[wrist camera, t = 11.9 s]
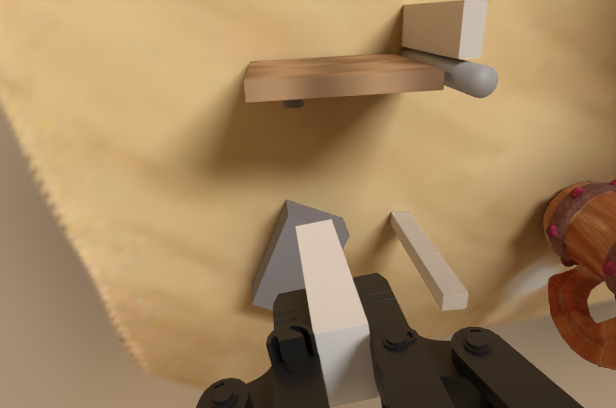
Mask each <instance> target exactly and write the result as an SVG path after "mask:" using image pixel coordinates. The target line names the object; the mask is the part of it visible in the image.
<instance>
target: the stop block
mask: <svg viewBox="0 0 616 408" xmlns="http://www.w3.org/2000/svg"><path fill="white" fill-rule="evenodd" d="M330 219H332V222H333V225H334V227H335V230H336V233H337V236H338V239H339V242H340V245H341V247H342V250H343V248H344V246H345V244H346V242H347V240H348V238H349V236H350V235H349V233H348V230H347V228H346V225H345V222H344V220H343V218H341V217H338V216H335V215H332V214H329V213H326V212H323V211H320V210H317V209H314V208H310V207H307V206H304V205H301V204H298V203H295V202H292V201H289V200H286V202H285V204H284V207H283V209H282V211H281V214H280V216H279V219H278V221H277V224H276V226H275V229H274V231H273V234H272V236H271V239H270V241H269V244H268V246H267V249H266V251H265V254H264V256H263V259H262V261H261V263H260V266H259V268H258V271H257V273H256V276H255V278H254V281H253V286H252V305H254V306H258V307H262V308H266V309H269V310H273V303H274V301H275V299H276V297H277V295H278V294H280V293H285V292H290V291H295V290H299V289H304V288H306V287H305V281H304V275H303V269H302V263H301V257H300V251H299V245H298V239H297V233H296V227H295V226H300V225H305V224H310V223H315V222H320V221H325V220H330Z"/></svg>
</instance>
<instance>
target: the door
mask: <svg viewBox="0 0 616 408" xmlns="http://www.w3.org/2000/svg"><path fill="white" fill-rule="evenodd" d="M444 74H445V69H442V68H438V67H435V66H432V65H429V64H425V63H422V62H419V61H415V60H412V59H409V58H405V57H402V56H399V55H395V54H392V53H390V54H373V55H356V56H339V57H322V58H305V59H288V60H271V61H254V62H250V64H249V67H248V70H247V73H246V76H245V79H244V91H245V101H246V103H248V102H263V101H279V100H284V107H286V108H298V107H302V106H304V103H303V99H310V98H325V97H341V96H356V95H372V94H387V93H402V92H418V91H433V90H443V87H444Z"/></svg>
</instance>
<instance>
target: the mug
mask: <svg viewBox="0 0 616 408" xmlns="http://www.w3.org/2000/svg"><path fill="white" fill-rule="evenodd" d="M543 230H544V233H545V238H546V241H547V243H548V244H549V245H550V246H551V247H552V248H553V249H554V251H555V252H556V253H557V254H558V255H559V256H560V257H561V262H562V264H563V265H564V266H566V267H570V266H573V265H578V266H577V267H575V268H574V269H571V270H569V271H566V272H564V273H561V274H556V275H554V276H552V277H550V278H549V282H548V298H549V305H550V313H551V316H552V319H553V321H554V323H555V325H556V327H557V329H558V331H559V333H560V334H561V336H562V337H563V339H564V340H565V341H566V342H567V343H568V345H569V346H570V348H571V349H572V350H574V351H575V352H576V353H577V354H578V355H580V356H581V357H582V358H584V359H585V360H587V361H589V362H591V363H593V364H596V365H598V366H599V367H604V368H610V369H613V370H616V317H615V318H612V319H609V320H606V321H603V322H601V323H598V324H596V323H595V321H594V320H593V319H592V317H591V316H590V313H589V309H588V305H587V299H588V297H589V294H590V291H591V290H592V289H593V288H595V287H596V286H597V285H599V284H600V283H601V282H603V281H605V282H606V285H607V287H608V289H609V290H610V291H612V292H613V293H614V294H615V299H616V180H613V181H611V182H610V183H592V182H590V181H587V182H580V183H577V184H573V185H571V186H570V187H567V188H565V189H564V190H562V191H561V192H560V193H559V194H558V195H557V196H556V197H555V198H554V199H553V200H552V201H551V202H550V203H549V206H548V208H547V209H546V211H545V214H544V217H543Z"/></svg>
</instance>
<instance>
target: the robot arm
mask: <svg viewBox="0 0 616 408" xmlns="http://www.w3.org/2000/svg"><path fill="white" fill-rule="evenodd" d="M295 227H296V233H297V239H298V245H299V251H300V257H301V263H302V269H303V275H304V281H305V287H306V288H304V289H299V290H295V291H290V292H285V293H280V294H278V295H277V297H276V299H275V301H274V303H273V315H274V316H273V317H274V330H273V331H272V332H271V334H270V335H269V336H268V338H267V342H266V346H267V349H268V353H269V357H270V360H271V364H272V366H271V367H270V369H269V370H268V371H267V372H266V373H265V374H264V375H262V376H261V377H259V378H257V379H256V380H254V381H252V382H250V383H248V384H245V383H244V382H243V381H241V380H240V379H235V378H228V379H222V380H220V381H218V382H216V383H214V384H212V385H211V386H210V387H208V388H207V389H206V390H205V391H204V393H203V394H202V396H201V398H200V400H199V402H198V404H197V407H196V408H330V407H332V406H336V405H341V404H346V403H351V402H356V401H361V400H365V399H370V398H375V397H379V396H378V392H379V395H380V398H381V404H382V408H584V407H582V406H581V405H580V404H579V403H578V402H576V401H575V400H574V399H573V398H572V397H571V396H569V395H568V394H567V393H566V392H565V391H563V390H562V389H561V388H560V387H559V386H558V385H556V384H555V383H554V382H553V381H552V380H550V379H549V378H548V377H547V376H546V375H545V374H543V373H542V372H541V371H540V370H538V369H537V368H536V367H535V366H534V365H533V364H532V363H530V362H529V361H528V360H527V359H526V358H524V357H523V356H522V355H521V354H520V353H519V352H517V351H516V350H515V349H514V348H513V347H511V346H510V345H509V344H508V343H507V342H505V341H504V340H503V339H502V338H501V337H500V336H498V335H497V334H495V333H494V332H492V331H490V330H488V329H484V328H481V327H468V328H463V329H460V330H459V331H457V332H456V333H454V335H453V337H452V339H451V341H438V340H430V339H426V338H423V337H421V336H419V335H418V333H417V332H416V331H415V330H413V329H411V328H410V327H409V325H408V323H407V321H406V319H405V317H404V314H403V312H402V310H401V308H400V306H399V304H398V302H397V300H396V299H395V296H394V294H393V292H392V290H391V287H390V285H389V283H388V281H387V280H386V279H385V278H384V277H382V276H381V275H380V274H378V273H373V274H368V275H363V276H359V277H354V278H352V276H351V273H350V270H349V267H348V264H347V262H346V259H345V256H344V253H343V250H342V247H341V245H340V242H339V239H338V236H337V233H336V230H335V227H334V225H333V222H332V219H330V220H325V221H320V222H315V223H310V224H305V225H300V226H295Z"/></svg>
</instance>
